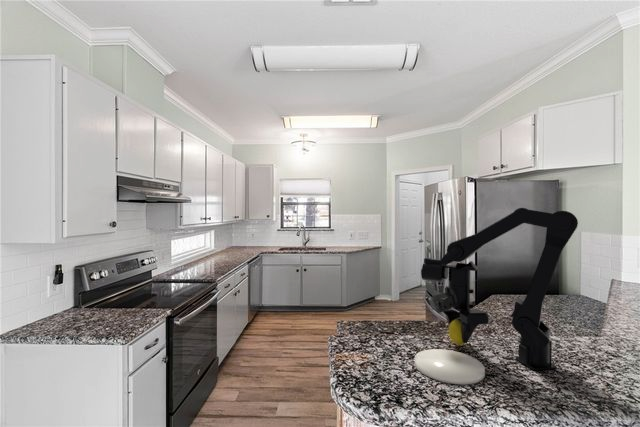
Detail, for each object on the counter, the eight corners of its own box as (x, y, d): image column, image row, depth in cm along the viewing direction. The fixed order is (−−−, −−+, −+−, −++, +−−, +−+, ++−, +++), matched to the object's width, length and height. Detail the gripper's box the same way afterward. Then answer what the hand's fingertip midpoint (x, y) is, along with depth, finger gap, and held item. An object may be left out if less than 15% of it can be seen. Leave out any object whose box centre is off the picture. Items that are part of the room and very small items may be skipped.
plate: (460, 352, 89) (460, 347, 89) (500, 381, 73) (500, 376, 73) (404, 355, 87) (404, 350, 87) (433, 386, 71) (433, 381, 71)
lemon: (471, 350, 90) (471, 321, 90) (450, 349, 91) (450, 320, 91) (466, 343, 96) (467, 315, 96) (446, 341, 97) (447, 314, 97)
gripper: (418, 278, 102) (418, 328, 102) (450, 293, 83) (450, 354, 83) (451, 278, 103) (451, 327, 103) (490, 291, 85) (490, 352, 85)
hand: (458, 338), depth 94 cm, fingers closed on lemon, 5 cm apart
